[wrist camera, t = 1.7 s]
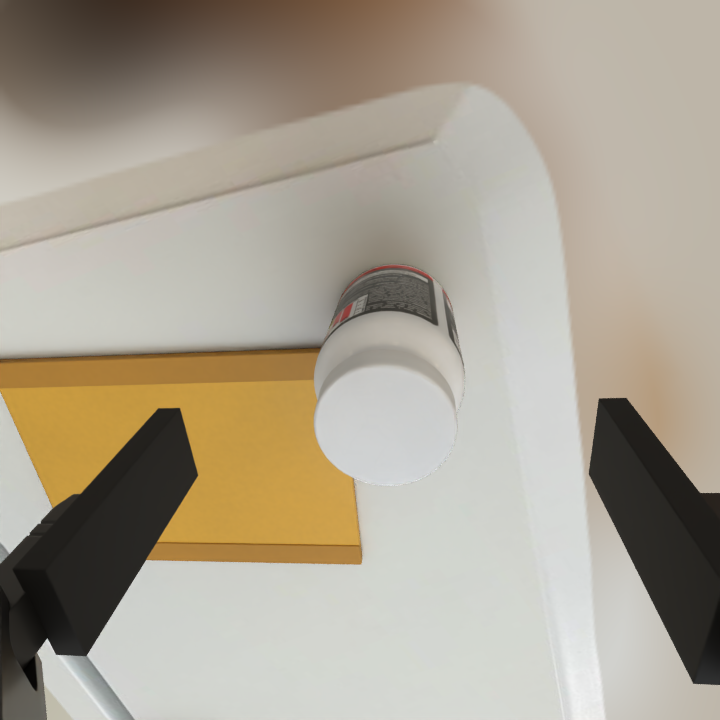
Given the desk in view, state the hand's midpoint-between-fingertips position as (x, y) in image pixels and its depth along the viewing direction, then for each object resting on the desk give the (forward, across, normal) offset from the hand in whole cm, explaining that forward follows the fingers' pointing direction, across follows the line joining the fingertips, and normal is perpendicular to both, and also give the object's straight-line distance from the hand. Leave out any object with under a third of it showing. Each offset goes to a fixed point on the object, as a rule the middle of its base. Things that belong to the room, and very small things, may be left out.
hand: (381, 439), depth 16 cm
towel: (+10, -13, -9) cm, 19 cm away
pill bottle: (+10, 0, 0) cm, 10 cm away
